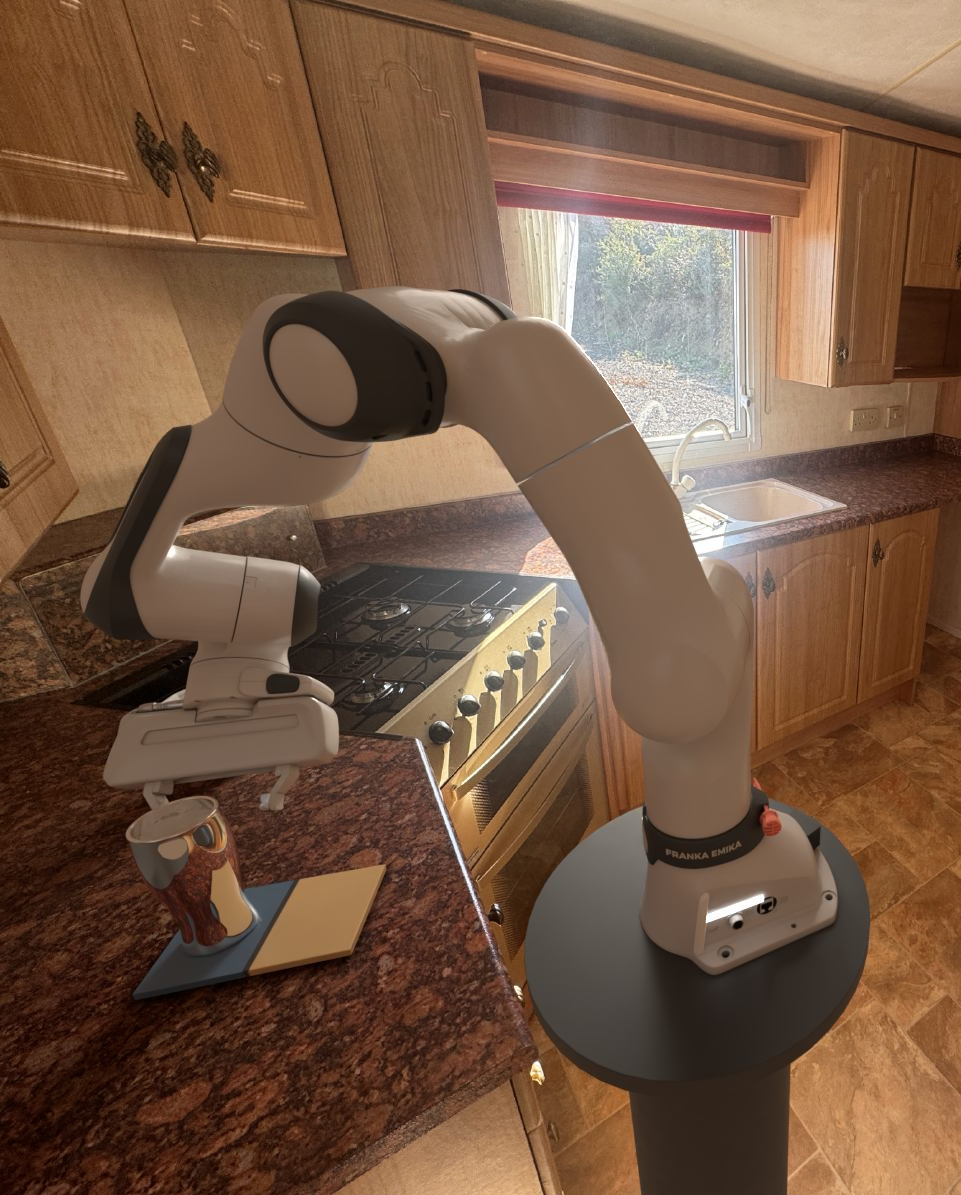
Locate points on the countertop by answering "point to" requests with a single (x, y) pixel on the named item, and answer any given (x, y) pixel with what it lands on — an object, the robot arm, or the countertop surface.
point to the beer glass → (194, 872)
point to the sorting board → (277, 932)
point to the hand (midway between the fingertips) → (218, 818)
